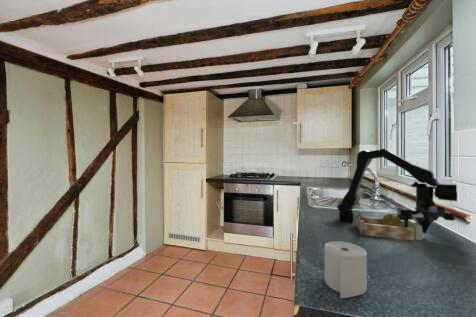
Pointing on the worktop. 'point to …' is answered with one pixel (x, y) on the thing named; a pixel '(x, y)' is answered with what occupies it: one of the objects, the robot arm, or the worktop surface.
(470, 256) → the worktop surface
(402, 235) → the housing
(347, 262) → the toilet tissue
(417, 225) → the pale green block
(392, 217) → the potato
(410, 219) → the mate gourd
